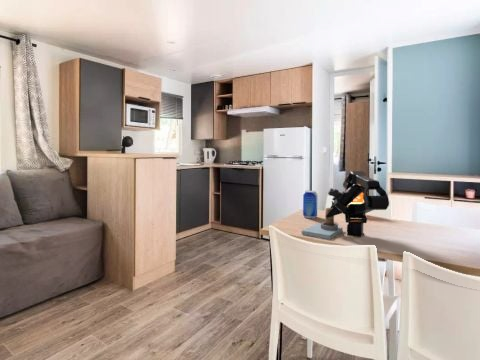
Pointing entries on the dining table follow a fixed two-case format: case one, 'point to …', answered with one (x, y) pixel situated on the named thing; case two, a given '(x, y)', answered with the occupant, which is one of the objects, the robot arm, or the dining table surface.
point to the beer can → (310, 204)
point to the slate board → (323, 231)
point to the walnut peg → (329, 220)
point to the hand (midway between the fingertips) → (326, 216)
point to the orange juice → (357, 199)
